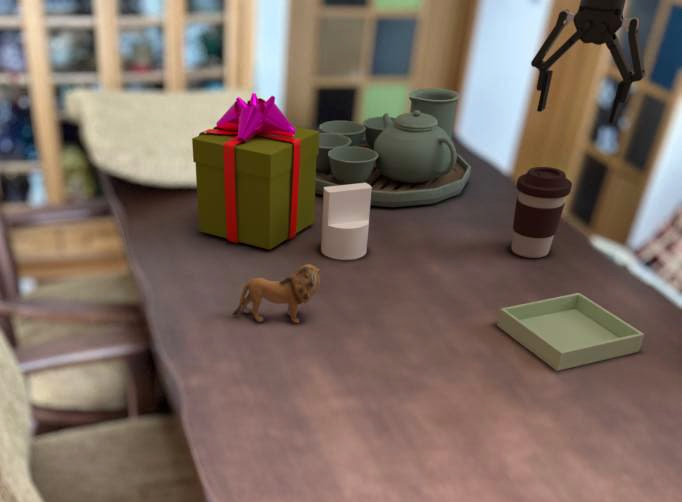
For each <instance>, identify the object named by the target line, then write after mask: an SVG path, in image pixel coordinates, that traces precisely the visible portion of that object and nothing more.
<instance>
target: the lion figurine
mask: <svg viewBox="0 0 682 502" xmlns="http://www.w3.org/2000/svg"><path fill="white" fill-rule="evenodd" d="M320 280H321V279H320V269H319V268H317V267H316V266H315V265H313V264H310V263H308V264H307V263H306V264H303V265H302V266H299V268H298V270H297V271H296V272H294V273H293V274H290V275H289V276H288V277H285V279H283V280H281V281H274V280H269V279H266V278H263V277H255V278H252V279H249V280H248V281H247V282H246V283H245V285H244V287H243V289H242V292H241V297H240V299H239V300H240V301H239V305H238V307H237V309H235V310H234V312H232V313H231V315H232V316H237V315H238V314H239V313H240V312H241V311H242V312H243V314H249V313H250V312H251V313H252V314H253V316H254V318H255V321H256V322H258V323H262V322H264V317H263V316H260V315H259V311H258V310H259V308H260V305H261V303H262V299H263V298H264V299H266V300H267V301H268V302H270V303H272V304H277V305H282V304H287V313H288V315H289V316H290V319H291V322H293V324H299V323H300V318H299V317H297V314H298V309H299V305H301V304H307V303H308V301H310V300H311V297H312V296H314V295H315V293H317V291H318V289H319V286H320V283H321V281H320ZM248 291H249V292H248ZM247 292H248V294H247ZM250 303H252V308H251V309H250V308H249V307H248V305H249V304H250Z"/></svg>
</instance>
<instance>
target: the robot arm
mask: <svg viewBox="0 0 682 502" xmlns="http://www.w3.org/2000/svg"><path fill="white" fill-rule="evenodd" d="M626 1H627V0H580V1H579V6H578V10H577V11H576V12H572V11H570V10H569V9H568V8H566V9H563V10H562V11H560V12H559V13H558V15H557V20H556V22H555V25H554V27H553V29H552V30H551V31H550V33H549V34H548V36H547V38H546V39H545V41H544V42H543V44H542V45H541V46H540V48H539V49H538V51H537V53H536V54H535V56H533V59H532V60H531V62H530V65H531V67H533V68H536V69H537V70H538V72H539V73H538V78H537V84H536V90H537V91H540V94H539V99H538V105H537V110H536V112H543V111H544V110H545V109H546V106H547V102H548V96H549V92H550V87H551V82H552V78H553V73H554V70H549V69H551V68H552V66H553V65H554V64H555V63H557V61H558V60H559V59H561V57H563V56H564V55H565V54H566V53H567V52H568V51H569V50H570V49H572V47H573V46H575V45H576V43H578V42H579V41H581V42H582V43H583V44H594V45H597V46H601V45H604V44H605V46H606V48H607V49H608V50H609V52H610V55H611V56H612V59H613V61H614V63H615V65H616V67H617V70H618V72H619V74H620V76H621V79H622V80H621V81H619V82H618V85H617V88H616V93H615V97H614V99H613V103H612V108H611V111H610V115H609V119H608V123H610V124H613V123H614V122H615V121H617V120H618V119H617V118H618V114H619V111H620V107H621V104H625V103H626V102H627V100H628V99H629V96H630V93H631V88H632V85H633V83H634V82H640V81H642V80H643V79H644V78H645V77H646V70H645V69H646V68H645V64H644V58H643V51H642V46H641V40H640V39H641V38H640V33H639V29H640V24H641V18H640V17H639V16H634V17H633V18H631V17H630V18H624V9H625V7H626V6H625V5H626ZM572 21H573V24H574V27H575V32H574V33H573V34H572V35H571V36H570V37H569V38H568V39H567V40H566V41H565V42H564V43H563V44H562V45H561V46H560V47H558V48H557V50H556V51H555V52H553V54H552V55H550V56H549V57H548V58H547V60H545V61H544V58H545V57H546V56H547V54H548V53H549V51H550V50H551V48H552V47H553V46H554V44H555V42H556V41H557V39H558V38H559V36H560V34H561V33H562V32H563V30H564V29H565V27H566V26H568V25H569V24H570V23H572ZM622 27H623V28H624V32H625V33H626V34H627V39H628V45H629V51H630V56H631V62H632V68H631V66H630V64H629V61H628V59H627V57H626V54H625V53H624V51H623V48H622V46H621V44H620V40H619V37H618V35H617V32H618V31H619V30H620V29H621V28H622ZM632 69H633V70H632Z"/></svg>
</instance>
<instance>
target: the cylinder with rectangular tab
mask: <svg viewBox="0 0 682 502" xmlns="http://www.w3.org/2000/svg"><path fill="white" fill-rule="evenodd" d="M371 190H372V187H371V186H370V185H369V184H367V183H358V184H349V185H339V186H330V187H324V195H322V196H323V197H322V198H323V199H322V219H321V240H320V241H321V242H320V252H321V253H322V254H323V255H324V256H325V257H328V258H329V259H334V260H342V261H349V260H350V261H351V260H357V259H361V258H362V257H364V256H365V255H366V254H367V252H368V251H367V249H368V240H369V239H368V237H369V228H370V227H369V226H370V215H371V213H370V212H371V205H370V202H371Z"/></svg>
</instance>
